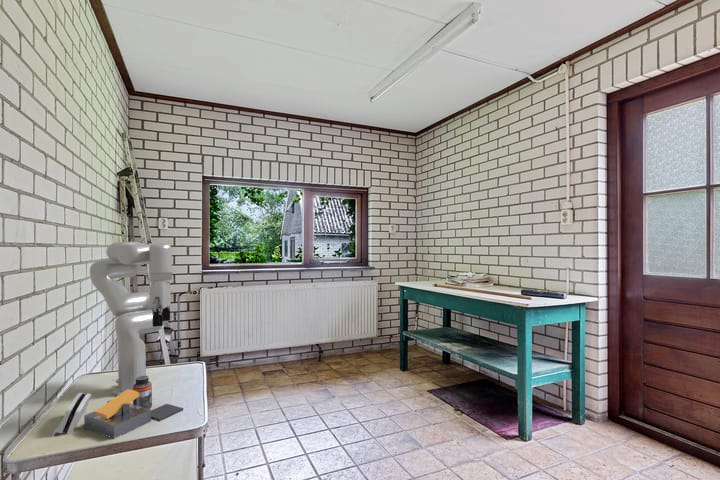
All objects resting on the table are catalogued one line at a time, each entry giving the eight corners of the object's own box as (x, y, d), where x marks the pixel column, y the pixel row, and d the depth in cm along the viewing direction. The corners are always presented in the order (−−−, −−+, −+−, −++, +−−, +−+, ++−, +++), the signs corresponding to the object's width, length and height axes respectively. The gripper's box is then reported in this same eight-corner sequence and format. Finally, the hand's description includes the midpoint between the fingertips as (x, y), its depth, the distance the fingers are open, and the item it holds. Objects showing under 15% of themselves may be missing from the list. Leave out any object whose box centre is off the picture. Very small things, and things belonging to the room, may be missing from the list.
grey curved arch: (67, 414, 131) (79, 386, 132) (83, 416, 133) (94, 388, 134) (51, 437, 116) (64, 404, 117) (68, 439, 117) (81, 407, 119)
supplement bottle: (133, 407, 136) (132, 376, 136) (151, 403, 139) (151, 373, 139) (132, 413, 131) (132, 381, 131) (152, 409, 134) (151, 378, 134)
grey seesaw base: (84, 427, 121) (84, 405, 121) (121, 412, 132) (121, 391, 132) (114, 438, 114) (113, 415, 114) (151, 421, 125) (150, 399, 125)
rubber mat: (143, 415, 129) (142, 413, 129) (166, 405, 137) (166, 403, 137) (160, 420, 125) (160, 419, 125) (183, 409, 133) (183, 408, 133)
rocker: (96, 415, 120) (94, 411, 120) (128, 392, 130) (127, 388, 129) (108, 419, 117) (106, 415, 117) (140, 395, 127) (138, 392, 126)
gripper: (157, 275, 146) (157, 319, 146) (141, 280, 130) (142, 329, 129) (177, 275, 148) (178, 318, 148) (165, 279, 131) (166, 327, 131)
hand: (161, 323), depth 139 cm, fingers open, 9 cm apart
